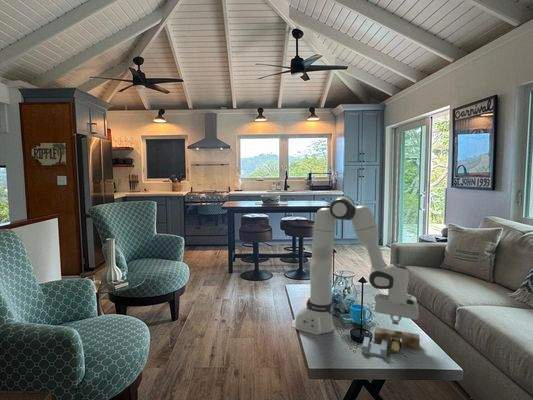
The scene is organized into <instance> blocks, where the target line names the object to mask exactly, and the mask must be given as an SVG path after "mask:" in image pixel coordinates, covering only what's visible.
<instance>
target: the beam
mask: <svg viewBox="0 0 533 400" xmlns="http://www.w3.org/2000/svg"><path fill="white" fill-rule="evenodd" d="M373 334H374V335H373V336H374V337H373V341H374V342H373V343H374V344H380V345H381V344H382V340H385V341H388V342H387V346H391V343H392V337H393V338H399V339H400V340H401V348H403V349H410V350H415V351H420V345H421V344H420V343H421V340H420V339H421V337H420V334H419V333H418V334H417V333H412V332H406V331H400V330H395V329H388V328H383V327H382V328H381V327H377V326H376V327H375V329H374V333H373Z"/></svg>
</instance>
